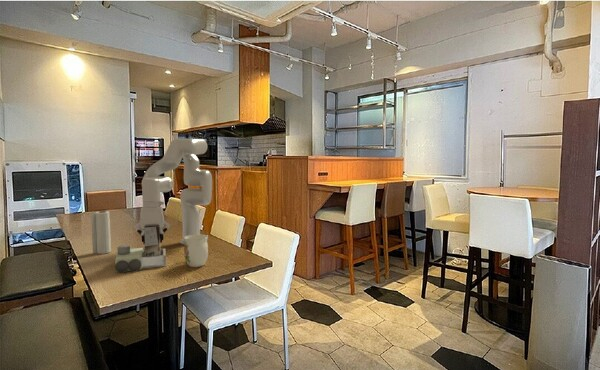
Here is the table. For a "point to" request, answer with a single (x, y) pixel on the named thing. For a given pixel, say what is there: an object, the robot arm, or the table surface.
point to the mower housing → (128, 259)
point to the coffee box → (152, 241)
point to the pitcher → (196, 250)
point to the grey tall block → (101, 232)
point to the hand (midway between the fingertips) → (152, 242)
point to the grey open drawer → (154, 260)
